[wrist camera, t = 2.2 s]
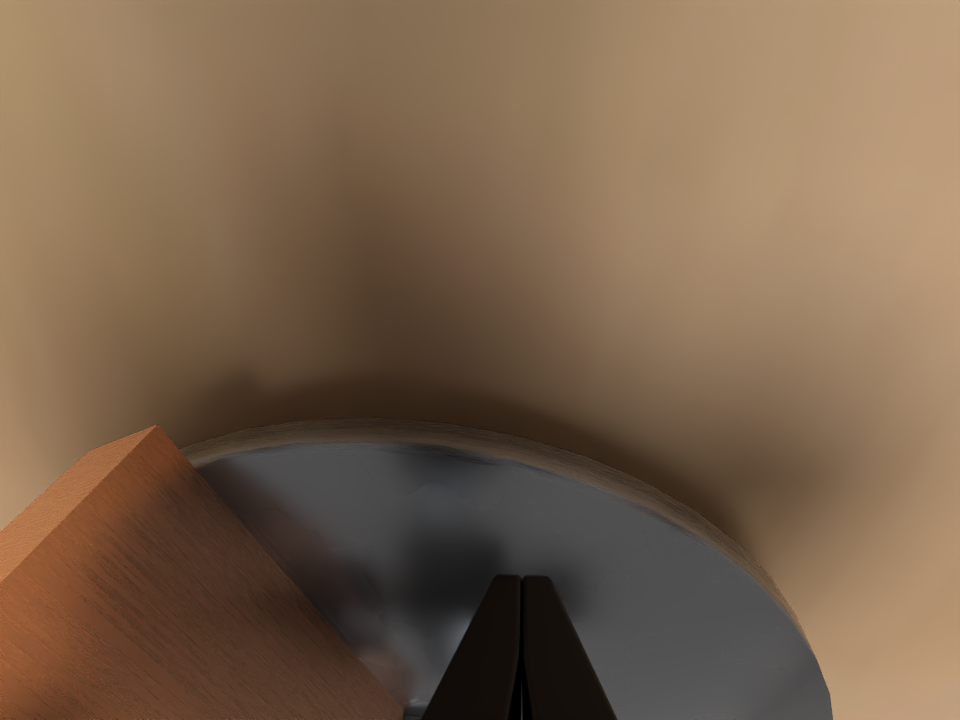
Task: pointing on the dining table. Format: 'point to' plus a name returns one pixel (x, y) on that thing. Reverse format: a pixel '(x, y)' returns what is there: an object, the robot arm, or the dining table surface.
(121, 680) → the grey disc with hub
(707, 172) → the dining table surface
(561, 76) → the dining table surface
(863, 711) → the dining table surface
